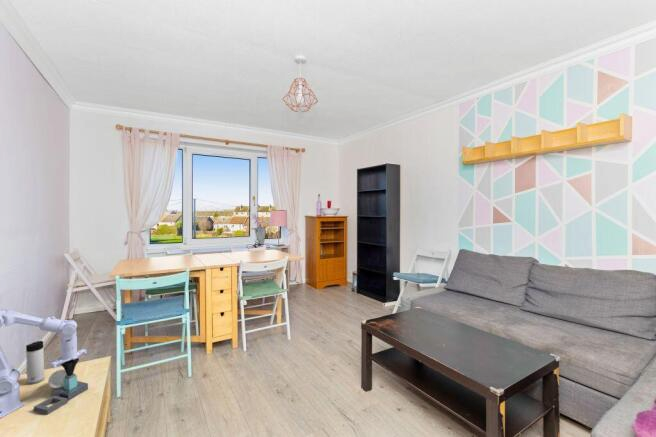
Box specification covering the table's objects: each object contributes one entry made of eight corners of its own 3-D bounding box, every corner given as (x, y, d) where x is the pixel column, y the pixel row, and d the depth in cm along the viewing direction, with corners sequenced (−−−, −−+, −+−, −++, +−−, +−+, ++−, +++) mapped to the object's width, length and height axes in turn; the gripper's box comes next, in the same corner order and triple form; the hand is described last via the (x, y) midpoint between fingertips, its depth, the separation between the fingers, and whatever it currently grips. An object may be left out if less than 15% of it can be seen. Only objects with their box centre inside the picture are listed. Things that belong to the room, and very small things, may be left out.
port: (68, 400, 140) (68, 394, 140) (51, 396, 142) (51, 390, 142) (87, 389, 148) (87, 382, 148) (72, 385, 151) (72, 379, 151)
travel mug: (34, 385, 150) (33, 346, 149) (23, 383, 152) (22, 344, 150) (48, 378, 156) (47, 340, 155) (38, 376, 158) (36, 339, 156)
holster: (47, 414, 131) (47, 410, 131) (34, 411, 133) (33, 406, 133) (67, 402, 139) (67, 398, 138) (54, 399, 140) (54, 395, 140)
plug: (69, 396, 143) (69, 377, 143) (63, 394, 144) (63, 376, 143) (77, 391, 147) (77, 373, 146) (71, 390, 147) (71, 372, 147)
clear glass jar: (44, 380, 149) (43, 381, 141) (60, 365, 154) (60, 366, 147) (58, 389, 151) (58, 391, 143) (73, 374, 156) (74, 375, 149)
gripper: (58, 355, 136) (59, 385, 137) (91, 341, 150) (91, 368, 151) (47, 353, 138) (47, 382, 138) (80, 339, 152) (80, 365, 153)
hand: (69, 374), depth 145 cm, fingers closed
